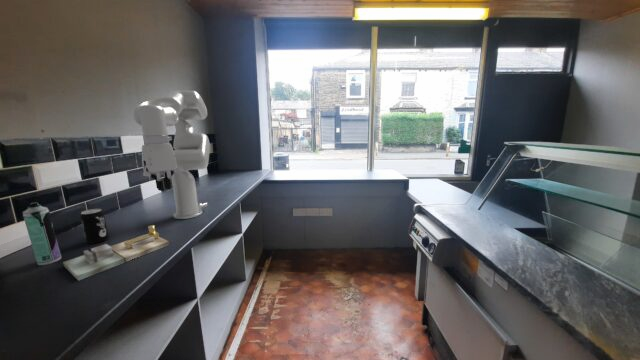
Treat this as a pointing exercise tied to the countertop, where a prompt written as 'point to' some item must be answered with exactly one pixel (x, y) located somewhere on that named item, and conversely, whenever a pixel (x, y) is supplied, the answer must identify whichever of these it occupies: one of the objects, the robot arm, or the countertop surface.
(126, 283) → the countertop surface
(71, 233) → the countertop surface
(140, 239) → the bolt
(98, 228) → the beverage can
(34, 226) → the spray can
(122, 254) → the latch board
